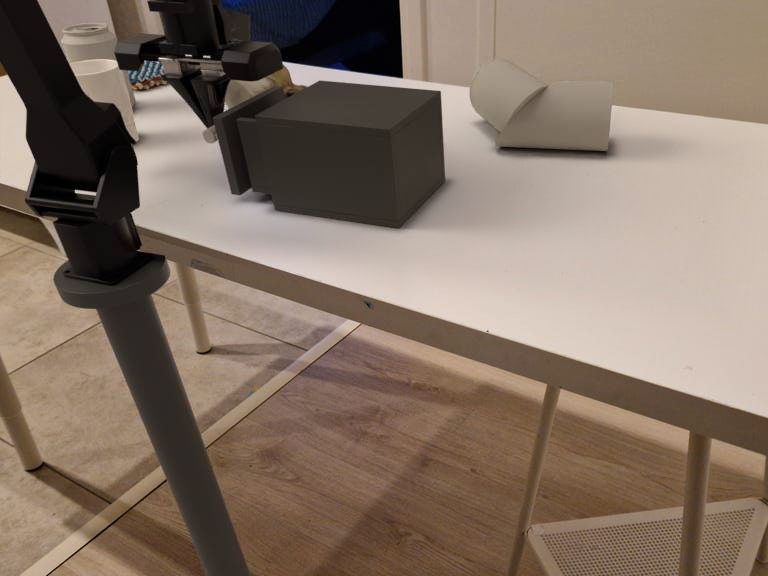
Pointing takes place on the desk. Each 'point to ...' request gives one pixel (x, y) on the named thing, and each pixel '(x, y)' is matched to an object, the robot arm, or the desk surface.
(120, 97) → the white cup
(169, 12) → the robot arm
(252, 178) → the drawer
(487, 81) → the bent grey cylinder
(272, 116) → the matte charcoal box
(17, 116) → the desk surface
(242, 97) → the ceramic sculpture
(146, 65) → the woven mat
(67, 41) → the can
